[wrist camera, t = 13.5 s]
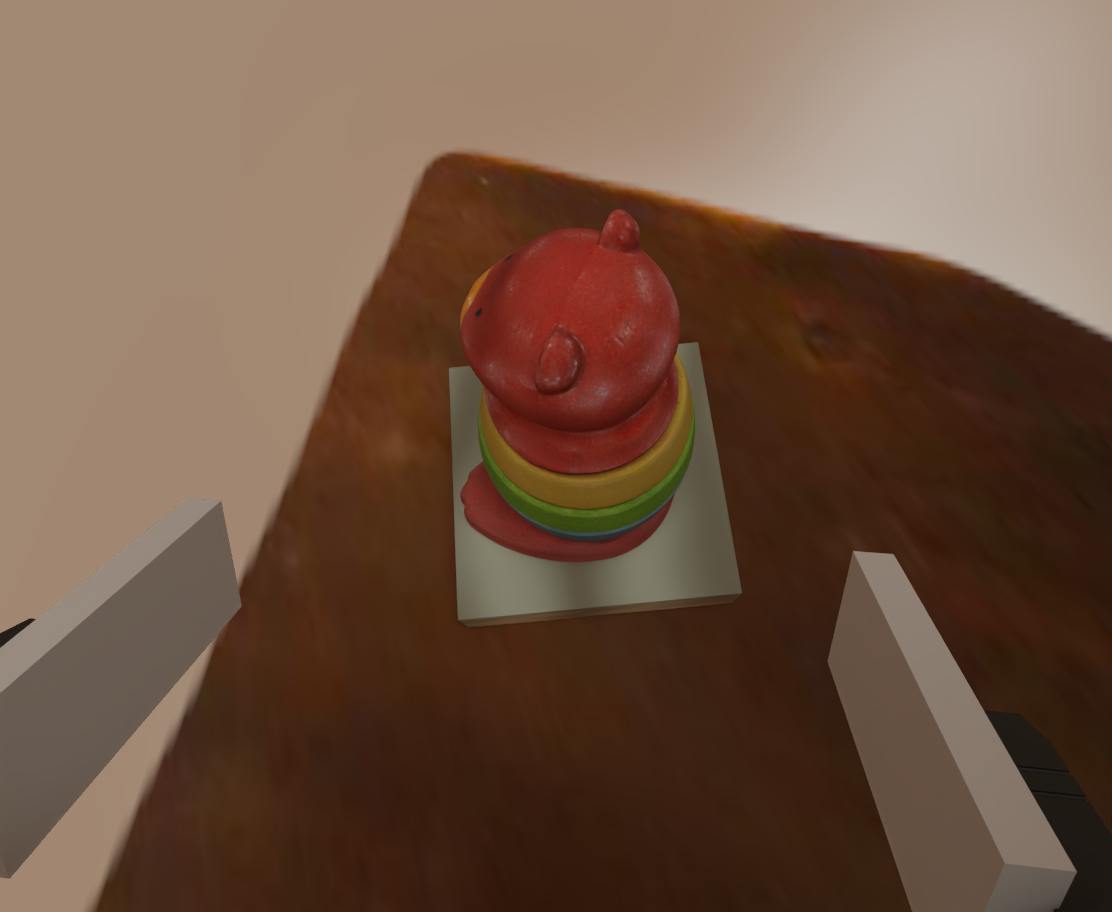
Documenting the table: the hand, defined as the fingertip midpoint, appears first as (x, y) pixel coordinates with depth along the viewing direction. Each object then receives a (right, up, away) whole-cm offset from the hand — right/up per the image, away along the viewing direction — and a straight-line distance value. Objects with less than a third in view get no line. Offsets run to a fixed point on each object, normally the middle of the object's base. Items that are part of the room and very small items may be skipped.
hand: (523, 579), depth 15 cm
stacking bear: (+2, +2, +23) cm, 23 cm away
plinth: (+2, +1, +25) cm, 26 cm away
